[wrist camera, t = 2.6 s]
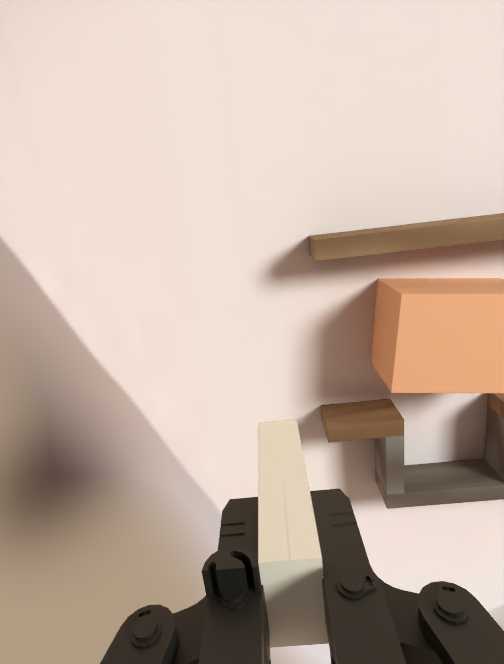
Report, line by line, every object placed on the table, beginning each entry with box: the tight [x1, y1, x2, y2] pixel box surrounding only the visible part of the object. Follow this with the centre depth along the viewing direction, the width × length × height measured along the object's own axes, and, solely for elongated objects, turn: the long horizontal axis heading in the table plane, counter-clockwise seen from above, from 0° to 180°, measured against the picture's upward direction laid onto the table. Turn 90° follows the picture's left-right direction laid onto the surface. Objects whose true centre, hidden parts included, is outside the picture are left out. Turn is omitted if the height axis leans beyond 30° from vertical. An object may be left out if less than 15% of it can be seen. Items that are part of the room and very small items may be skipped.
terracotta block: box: [371, 278, 504, 393], centre depth 26 cm, size 6×8×5 cm
